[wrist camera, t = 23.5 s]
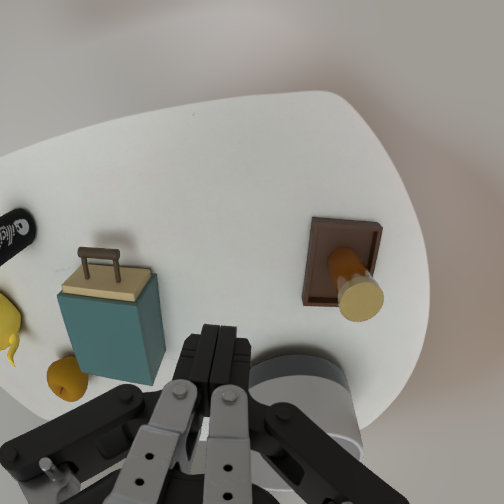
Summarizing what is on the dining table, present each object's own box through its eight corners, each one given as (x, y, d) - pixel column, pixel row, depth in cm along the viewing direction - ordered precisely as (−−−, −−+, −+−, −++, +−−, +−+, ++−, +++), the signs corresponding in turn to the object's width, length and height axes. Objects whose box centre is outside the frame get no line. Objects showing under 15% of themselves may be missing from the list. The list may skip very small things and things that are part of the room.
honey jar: (328, 244, 42) (344, 281, 33) (364, 246, 42) (388, 283, 33) (322, 279, 44) (335, 321, 35) (357, 280, 44) (377, 322, 35)
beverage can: (43, 237, 44) (-2, 270, 33) (21, 248, 45) (-22, 281, 34) (27, 200, 41) (-22, 227, 30) (6, 215, 42) (-40, 242, 31)
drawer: (78, 234, 42) (54, 253, 36) (147, 238, 42) (129, 259, 36) (98, 333, 50) (82, 358, 44) (159, 342, 50) (148, 371, 43)
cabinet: (83, 267, 46) (56, 295, 38) (156, 274, 45) (137, 306, 38) (100, 340, 52) (81, 372, 44) (166, 350, 51) (152, 386, 44)
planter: (228, 406, 57) (219, 485, 41) (247, 332, 49) (240, 425, 33) (323, 418, 58) (333, 492, 41) (361, 349, 50) (388, 433, 34)
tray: (312, 216, 41) (314, 222, 39) (378, 222, 41) (383, 227, 39) (301, 297, 46) (303, 305, 44) (361, 300, 46) (365, 307, 44)
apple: (55, 359, 55) (36, 387, 47) (67, 340, 52) (46, 369, 44) (86, 383, 57) (70, 413, 49) (101, 367, 55) (84, 399, 46)
